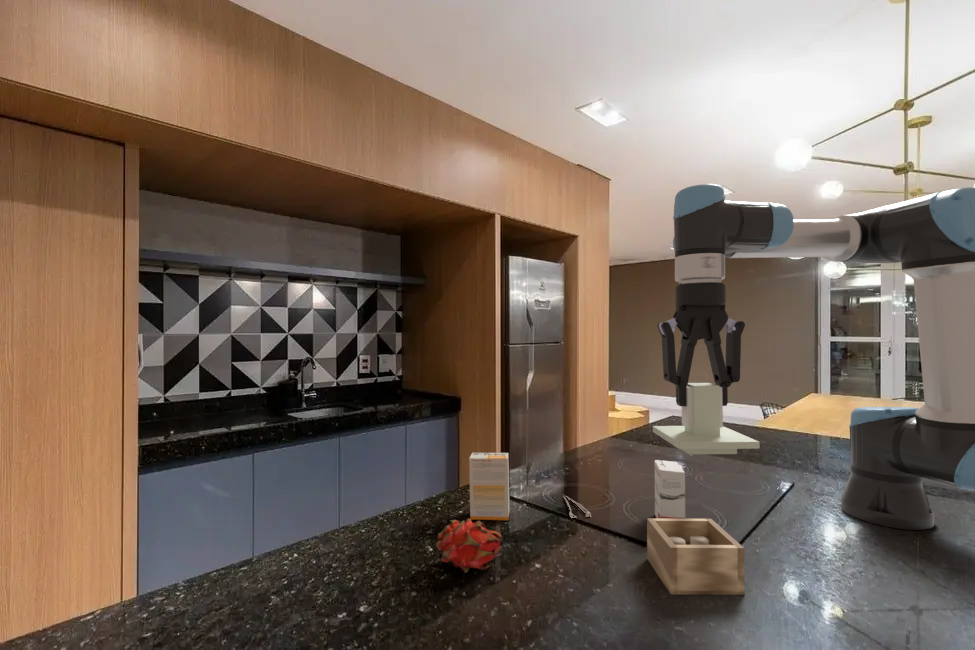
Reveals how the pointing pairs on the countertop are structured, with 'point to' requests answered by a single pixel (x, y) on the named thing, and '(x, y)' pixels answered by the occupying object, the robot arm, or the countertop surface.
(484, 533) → the dragon fruit
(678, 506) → the ink box
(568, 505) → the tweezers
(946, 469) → the robot arm
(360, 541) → the countertop surface
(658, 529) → the storage box
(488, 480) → the supplement box
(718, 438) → the lid
